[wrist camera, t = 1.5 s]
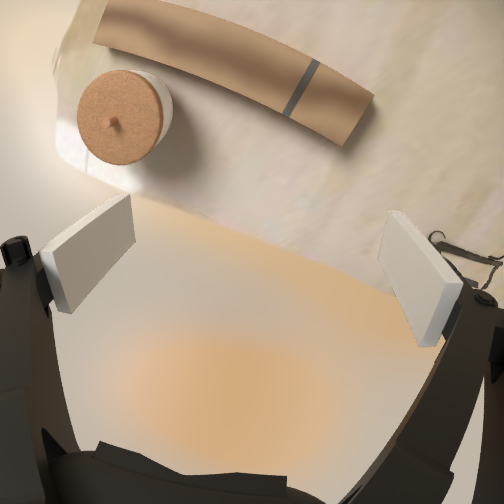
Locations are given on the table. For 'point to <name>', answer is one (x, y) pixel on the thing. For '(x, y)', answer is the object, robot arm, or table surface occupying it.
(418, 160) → the table surface
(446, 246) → the hacksaw
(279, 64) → the board
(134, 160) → the lidded jar
